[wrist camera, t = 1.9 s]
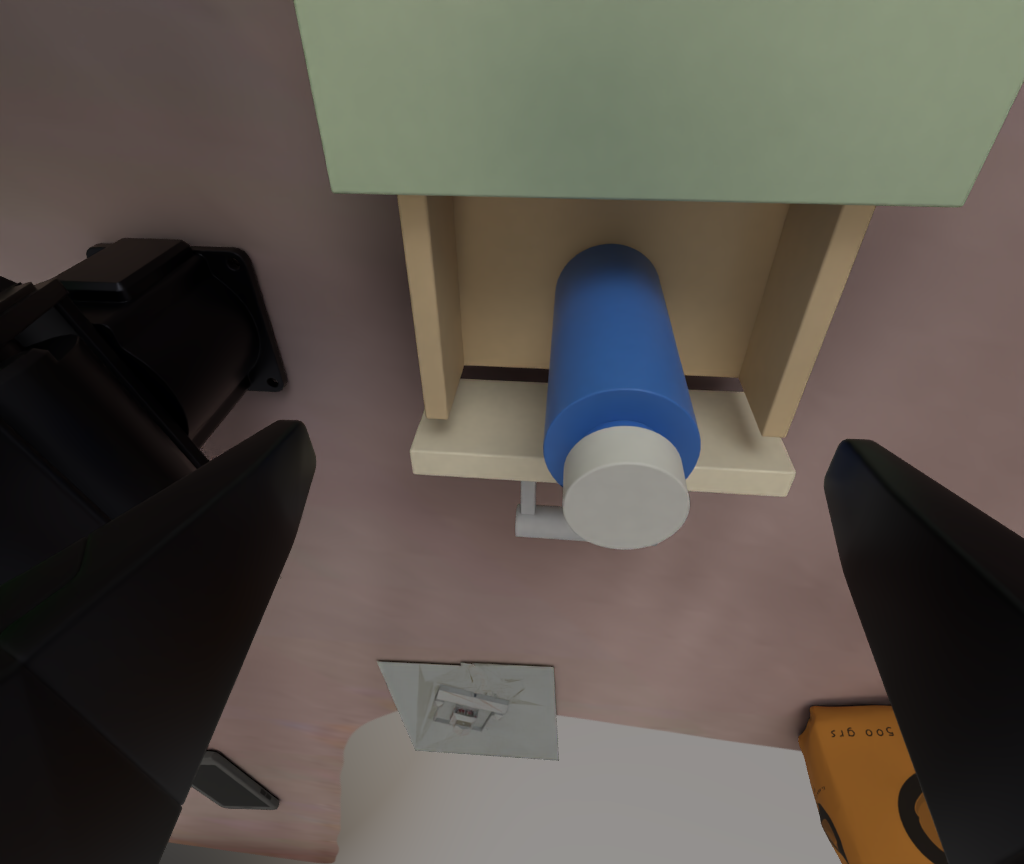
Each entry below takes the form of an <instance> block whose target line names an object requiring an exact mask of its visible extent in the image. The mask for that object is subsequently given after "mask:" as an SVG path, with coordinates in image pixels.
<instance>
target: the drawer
mask: <svg viewBox="0 0 1024 864" xmlns="http://www.w3.org/2000/svg"><path fill="white" fill-rule="evenodd" d="M397 199H398V207H399V214H400V222H401V230H402V237H403V245H404V253H405V261H406V268H407V276H408V284H409V291H410V299H411V307H412V315H413V322H414V330H415V338H416V345H417V353H418V361H419V369H420V376H421V384H422V392H423V399H424V407H425V409H424V412H423V415H422V418H421V421H420V423H419V426H418V429H417V432H416V434H415V437H414V440H413V443H412V446H411V448H410V457H411V463H412V469H413V473H414V474H418V475H434V476H451V477H467V478H483V479H499V480H516V481H521V504H518V505H517V510H516V522H515V535H516V536H518V537H532V538H547V539H561V540H576V541H586V540H585V539H583V538H581V537H580V536H579V535H577V534H576V533H575V532H574V531H573V530H572V529H571V528H570V526H569V525H568V523H567V521H566V519H565V517H564V514H563V507H560V506H545V505H536V482H548V483H557V481H556V480H555V479H554V478H553V477H552V475H551V473H550V472H549V470H548V468H547V466H546V463H545V460H544V455H543V441H544V428H545V416H546V403H547V391H548V383H542V382H522V381H501V380H480V379H460V377H461V374H462V371H463V367H464V365H472V366H493V367H515V368H537V369H549V365H550V353H551V340H552V327H553V315H554V302H555V291H556V285H557V281H558V278H559V276H560V274H561V272H562V270H563V269H564V267H565V266H566V265H567V263H568V262H569V261H570V260H571V259H572V258H574V257H575V256H576V255H577V254H579V253H581V252H582V251H584V250H586V249H588V248H591V247H594V246H597V245H602V244H620V245H625V246H628V247H631V248H633V249H635V250H637V251H639V252H641V253H642V254H643V255H645V256H646V257H647V258H648V259H649V260H650V262H651V263H652V264H653V266H654V267H655V269H656V271H657V274H658V276H659V280H660V284H661V287H662V291H663V295H664V299H665V303H666V307H667V310H668V314H669V318H670V322H671V326H672V329H673V333H674V337H675V341H676V345H677V349H678V352H679V356H680V360H681V364H682V368H683V372H684V375H690V376H712V377H733V378H739V380H740V383H741V385H742V388H743V390H744V392H731V391H710V390H689V389H688V391H689V395H690V398H691V402H692V406H693V410H694V414H695V418H696V421H697V425H698V429H699V433H700V439H701V450H700V455H699V458H698V461H697V464H696V466H695V467H694V469H693V471H692V473H691V474H690V475H689V476H688V478H687V479H686V485H687V489H688V491H695V492H711V493H728V494H744V495H760V496H776V497H786V496H787V494H788V492H789V489H790V487H791V485H792V482H793V480H794V478H795V475H796V471H795V469H794V467H793V465H792V462H791V460H790V458H789V455H788V453H787V451H786V448H785V446H784V444H783V442H782V439H781V438H784V437H786V435H787V432H788V430H789V427H790V425H791V422H792V420H793V417H794V415H795V412H796V409H797V407H798V404H799V402H800V399H801V397H802V394H803V391H804V389H805V386H806V384H807V381H808V379H809V376H810V374H811V371H812V368H813V366H814V363H815V361H816V358H817V356H818V353H819V351H820V348H821V345H822V343H823V340H824V338H825V335H826V333H827V330H828V327H829V325H830V322H831V320H832V317H833V315H834V312H835V310H836V307H837V304H838V302H839V299H840V297H841V294H842V292H843V289H844V286H845V284H846V281H847V279H848V276H849V274H850V271H851V269H852V266H853V263H854V261H855V258H856V256H857V253H858V251H859V248H860V245H861V243H862V240H863V238H864V235H865V233H866V230H867V228H868V225H869V222H870V220H871V217H872V215H873V212H874V210H875V207H876V206H873V205H828V204H784V203H739V202H695V201H650V200H606V199H561V198H516V197H472V196H427V195H397ZM657 544H658V543H657ZM657 544H654V545H651V546H656V545H657Z"/></svg>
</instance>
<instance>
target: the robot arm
mask: <svg viewBox="0 0 1024 864" xmlns="http://www.w3.org/2000/svg"><path fill="white" fill-rule="evenodd" d="M86 255H87V259H85V260H83V261H82V262H80V263H78V264H76V265H75V266H73V267H71V268H69V269H68V270H66V271H64V272H62V273H61V274H59V275H57V276H55V277H54V278H52V279H50V280H47V281H44V282H42V283H39V284H36V285H33V284H32V282H28V283H25V284H22V283H21V282H19V283H15V282H13V281H11V280H8V279H6V278H4V277H1V276H0V864H159V862H160V860H161V857H162V855H163V852H164V850H165V848H166V845H167V843H168V841H169V838H170V836H171V834H172V831H173V829H174V827H175V824H176V822H177V820H178V817H179V815H180V812H181V810H182V806H181V805H183V804H184V802H185V800H186V797H187V795H188V792H189V790H190V788H191V785H192V783H193V781H194V778H195V776H196V773H197V771H198V769H199V766H200V764H201V762H202V759H203V757H204V755H205V752H206V750H207V747H208V745H209V743H210V740H211V738H212V736H213V733H214V731H215V728H216V726H217V724H218V721H219V719H220V717H221V714H222V712H223V709H224V707H225V705H226V702H227V700H228V698H229V695H230V693H231V690H232V688H233V686H234V683H235V681H236V679H237V676H238V674H239V672H240V669H241V667H242V664H243V662H244V660H245V657H246V655H247V653H248V650H249V648H250V645H251V643H252V641H253V638H254V636H255V634H256V631H257V629H258V626H259V624H260V622H261V619H262V617H263V615H264V612H265V610H266V608H267V605H268V603H269V600H270V598H271V596H272V593H273V591H274V589H275V586H276V584H277V581H278V579H279V577H280V574H281V572H282V570H283V567H284V565H285V562H286V560H287V558H288V555H289V553H290V550H291V548H292V545H293V543H294V540H295V537H296V534H297V531H298V527H299V524H300V520H301V517H302V514H303V510H304V507H305V503H306V500H307V496H308V493H309V489H310V486H311V482H312V479H313V476H314V472H315V468H316V456H315V452H314V449H313V446H312V443H311V441H310V438H309V435H308V432H307V429H306V426H305V425H304V423H303V422H301V421H298V420H278V421H276V422H274V423H273V424H271V425H269V426H268V427H266V428H264V429H263V430H261V431H259V432H258V433H256V434H254V435H253V436H251V437H249V438H248V439H246V440H244V441H243V442H241V443H239V444H238V445H236V446H234V447H233V448H231V449H229V450H228V451H226V452H224V453H223V454H221V455H219V456H218V457H216V458H214V459H213V460H211V461H209V460H208V459H207V458H206V457H205V455H204V454H203V453H202V452H201V451H200V450H199V449H200V448H201V447H202V446H203V444H204V443H205V442H206V441H207V439H208V438H209V437H210V436H211V434H212V433H213V432H214V431H215V429H216V428H217V427H218V426H219V424H220V423H221V422H222V421H223V419H224V418H225V417H226V416H227V415H228V413H229V412H230V411H231V410H232V408H233V407H234V406H235V405H236V403H237V402H238V401H239V400H240V398H241V397H242V396H243V395H244V393H245V392H246V391H247V390H249V391H268V392H279V391H281V390H282V389H283V388H284V387H285V385H286V383H287V377H286V373H285V370H284V367H283V364H282V360H281V357H280V354H279V351H278V347H277V344H276V341H275V338H274V334H273V331H272V328H271V325H270V322H269V318H268V315H267V312H266V309H265V305H264V302H263V299H262V296H261V292H260V289H259V286H258V283H257V279H256V276H255V273H254V270H253V267H252V263H251V260H250V258H249V256H248V255H247V254H246V253H245V252H244V251H243V250H241V249H239V248H234V247H201V246H190V245H189V244H188V243H186V242H185V241H183V240H170V239H136V238H123V239H120V240H118V241H117V242H115V243H113V244H103V243H100V244H96V245H94V246H92V247H90V248H89V249H88V250H87V253H86ZM232 258H235V259H236V260H237V261H238V262H239V264H240V266H237V265H236V264H234V262H233V261H232ZM271 378H274V379H275V380H277V382H275V381H273V380H272V379H271ZM824 491H825V495H826V500H827V504H828V509H829V513H830V517H831V522H832V526H833V531H834V535H835V539H836V544H837V548H838V553H839V557H840V561H841V565H842V569H843V572H844V575H845V578H846V581H847V584H848V587H849V590H850V593H851V596H852V598H853V601H854V604H855V607H856V609H857V612H858V615H859V618H860V620H861V623H862V626H863V629H864V632H865V634H866V637H867V640H868V643H869V645H870V648H871V651H872V654H873V656H874V659H875V662H876V665H877V667H878V670H879V673H880V676H881V678H882V681H883V684H884V687H885V690H886V692H887V695H888V698H889V701H890V703H891V706H892V709H893V712H894V714H895V717H896V720H897V723H898V725H899V728H900V731H901V734H902V737H903V739H904V742H905V745H906V748H907V750H908V753H909V756H910V759H911V761H912V764H913V767H914V770H915V772H916V775H917V778H918V781H919V783H920V786H921V789H922V792H923V795H924V797H925V800H926V803H927V806H928V808H929V811H930V814H931V817H932V819H933V822H934V825H935V828H936V830H937V833H938V836H939V839H940V841H941V844H942V847H943V850H944V853H945V855H946V858H947V861H948V864H1024V538H1022V537H1021V536H1019V535H1018V534H1016V533H1015V532H1013V531H1012V530H1010V529H1008V528H1007V527H1005V526H1004V525H1002V524H1001V523H999V522H998V521H996V520H995V519H993V518H992V517H990V516H988V515H987V514H985V513H984V512H982V511H981V510H979V509H978V508H976V507H975V506H973V505H971V504H970V503H968V502H967V501H965V500H964V499H962V498H961V497H959V496H958V495H956V494H955V493H953V492H951V491H950V490H948V489H947V488H945V487H944V486H942V485H941V484H939V483H938V482H936V481H934V480H933V479H931V478H930V477H928V476H927V475H925V474H924V473H922V472H921V471H919V470H917V469H916V468H914V467H913V466H911V465H910V464H908V463H907V462H905V461H904V460H902V459H901V458H899V457H897V456H896V455H894V454H893V453H891V452H890V451H888V450H887V449H885V448H884V447H882V446H880V445H879V444H877V443H876V442H874V441H872V440H865V439H846V440H843V441H842V442H841V443H840V444H839V446H838V448H837V450H836V452H835V455H834V457H833V459H832V461H831V464H830V466H829V468H828V471H827V473H826V476H825V479H824Z"/></svg>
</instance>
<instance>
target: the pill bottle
mask: <svg viewBox="0 0 1024 864" xmlns="http://www.w3.org/2000/svg"><path fill="white" fill-rule="evenodd" d="M700 450H701V439H700V433H699V429H698V425H697V421H696V418H695V414H694V410H693V406H692V402H691V398H690V395H689V391H688V387H687V383H686V379H685V375H684V372H683V368H682V364H681V360H680V356H679V352H678V349H677V345H676V341H675V337H674V333H673V329H672V326H671V322H670V318H669V314H668V310H667V307H666V303H665V299H664V295H663V291H662V287H661V284H660V280H659V276H658V274H657V271H656V269H655V267H654V266H653V264H652V263H651V262H650V260H649V259H648V258H647V257H646V256H645V255H643V254H642V253H641V252H639V251H637V250H635V249H633V248H631V247H628V246H625V245H620V244H602V245H597V246H594V247H591V248H588V249H586V250H584V251H582V252H581V253H579V254H577V255H576V256H575V257H574V258H572V259H571V260H570V261H569V262H568V263H567V265H566V266H565V267H564V269H563V270H562V272H561V274H560V276H559V278H558V281H557V285H556V291H555V302H554V315H553V327H552V340H551V353H550V365H549V378H548V391H547V403H546V416H545V428H544V441H543V455H544V460H545V463H546V466H547V468H548V470H549V472H550V473H551V475H552V477H553V478H554V479H555V480H556V481H557V483H558V484H560V485H561V486H562V487H563V503H562V506H563V514H564V517H565V519H566V521H567V523H568V525H569V526H570V528H571V529H572V530H573V531H574V532H575V533H576V534H577V535H579V536H580V537H581V538H583V539H585V540H586V541H588V542H590V543H593V544H595V545H598V546H602V547H606V548H611V549H625V550H626V549H638V548H644V547H648V546H651V545H654V544H657V543H659V542H662V541H664V540H665V539H667V538H669V537H670V536H672V535H673V534H674V533H676V532H677V531H678V530H679V529H680V527H681V526H682V525H683V524H684V522H685V520H686V518H687V516H688V513H689V509H690V499H689V494H688V489H687V485H686V479H687V478H688V476H689V475H690V474H691V473H692V471H693V469H694V467H695V466H696V464H697V461H698V458H699V455H700Z"/></svg>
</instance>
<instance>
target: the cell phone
mask: <svg viewBox="0 0 1024 864" xmlns="http://www.w3.org/2000/svg"><path fill="white" fill-rule="evenodd" d="M191 787H193V788H194V789H196V790H197V791H199V792H200V793H202V794H203V795H205V796H206V797H207V798H209V799H210V800H212V801H213V802H215V803H216V804H218V805H219V806H221V807H223V808H229V809H261V810H275V809H277V808H278V806H279V801H278V800H277V799H276V798H275V797H274V796H272V795H271V794H270V793H269V792H267V791H266V790H265V789H263V788H262V787H261V786H260V785H258V784H257V783H256V782H254V781H253V780H252V779H251V778H249V777H248V776H247V775H246V774H244V773H243V772H242V771H240V770H239V769H238V768H237V767H235V766H234V765H233V764H231V763H230V762H229V761H228V760H226V759H225V758H224V757H222V756H221V755H220V754H218V753H217V752H212V751H206V752H205V755H204V757H203V759H202V762H201V764H200V766H199V769H198V771H197V773H196V776H195V778H194V781H193V783H192V785H191Z"/></svg>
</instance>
